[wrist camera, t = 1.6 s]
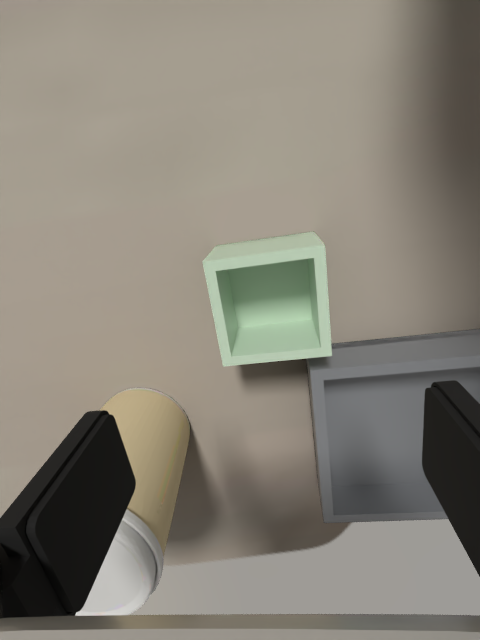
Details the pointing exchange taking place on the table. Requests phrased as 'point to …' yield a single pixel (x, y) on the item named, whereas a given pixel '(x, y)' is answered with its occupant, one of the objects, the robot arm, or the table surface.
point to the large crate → (382, 422)
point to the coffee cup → (142, 500)
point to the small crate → (270, 299)
